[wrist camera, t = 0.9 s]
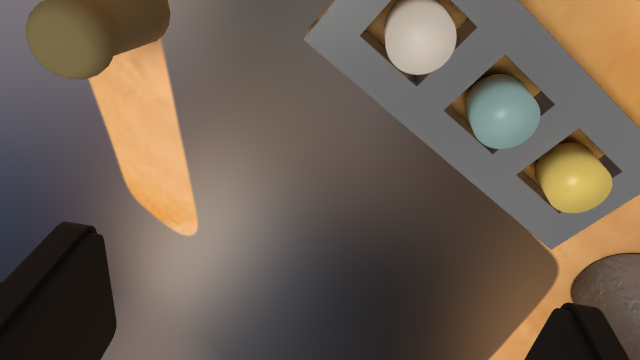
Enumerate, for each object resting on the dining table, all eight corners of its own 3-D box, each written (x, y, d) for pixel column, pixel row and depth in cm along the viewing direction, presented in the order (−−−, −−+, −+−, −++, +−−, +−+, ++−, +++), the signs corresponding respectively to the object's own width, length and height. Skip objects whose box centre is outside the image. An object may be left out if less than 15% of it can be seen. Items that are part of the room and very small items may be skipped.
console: (415, -105, 31) (419, -105, 29) (659, 152, 40) (678, 169, 37) (308, 29, 37) (303, 40, 34) (541, 229, 46) (551, 249, 43)
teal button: (500, 61, 35) (511, 76, 32) (539, 100, 36) (554, 118, 33) (452, 104, 37) (459, 123, 34) (491, 139, 39) (500, 160, 36)
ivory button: (417, -21, 32) (421, -12, 30) (463, 24, 34) (471, 37, 31) (370, 31, 35) (371, 44, 32) (415, 71, 36) (419, 87, 33)
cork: (159, 56, 39) (95, 108, 30) (91, 23, 38) (3, 67, 29) (178, -11, 36) (113, 25, 27) (104, -48, 35) (10, -25, 26)
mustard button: (572, 132, 38) (588, 152, 35) (606, 165, 39) (625, 187, 36) (523, 168, 40) (534, 190, 37) (557, 199, 41) (571, 222, 38)
